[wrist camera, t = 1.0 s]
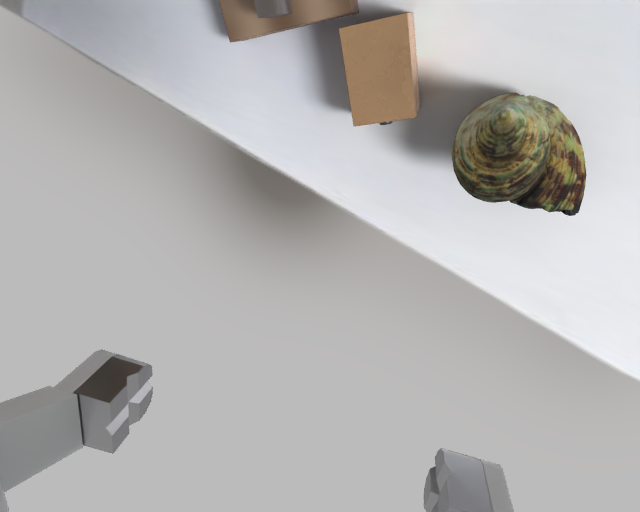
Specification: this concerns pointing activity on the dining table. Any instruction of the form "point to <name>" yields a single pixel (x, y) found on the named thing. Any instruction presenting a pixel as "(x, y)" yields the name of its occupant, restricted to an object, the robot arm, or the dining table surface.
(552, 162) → the seashell
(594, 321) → the dining table surface
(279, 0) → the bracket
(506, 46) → the dining table surface
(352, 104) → the slotted cardboard block
